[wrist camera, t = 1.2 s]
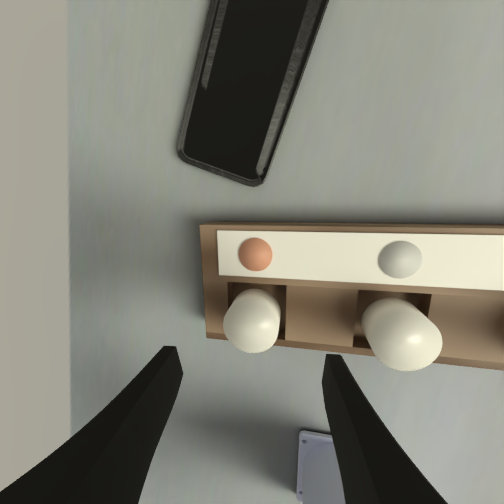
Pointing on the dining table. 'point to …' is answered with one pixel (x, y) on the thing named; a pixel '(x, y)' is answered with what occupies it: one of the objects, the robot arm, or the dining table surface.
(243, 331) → the end button
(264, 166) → the phone
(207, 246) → the button board
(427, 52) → the dining table surface
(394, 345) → the middle button
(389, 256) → the pattern card
